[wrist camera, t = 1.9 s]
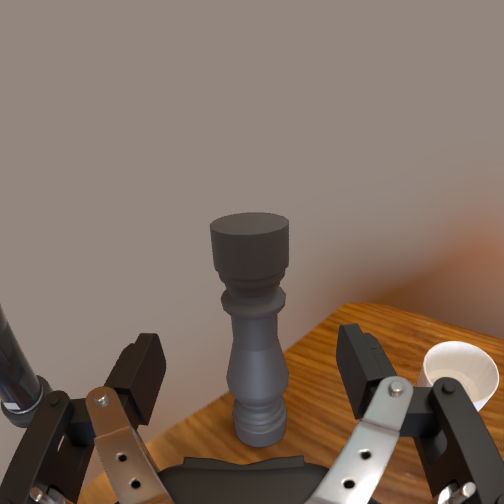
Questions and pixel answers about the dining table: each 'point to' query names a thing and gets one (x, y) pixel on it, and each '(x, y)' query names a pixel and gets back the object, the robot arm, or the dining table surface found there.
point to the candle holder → (254, 319)
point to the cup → (461, 369)
